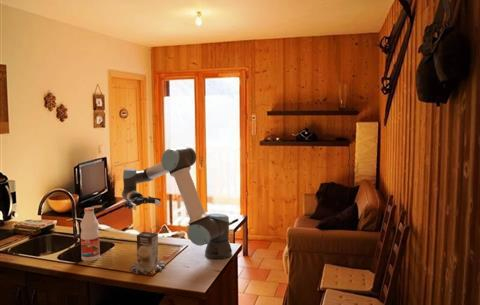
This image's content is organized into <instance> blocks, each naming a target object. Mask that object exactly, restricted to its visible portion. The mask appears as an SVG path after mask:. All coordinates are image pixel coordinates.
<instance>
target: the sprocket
mask: <svg viewBox="0 0 480 305" xmlns="http://www.w3.org/2000/svg"><path fill="white" fill-rule="evenodd" d="M165 268H166V264H165V262H164V261H161V260H160V259H159V258H158V264H157V265H155V266H154V267H152V268H150V267H145V266H139V265H137V261H134V264H131V265H130V271H131V272H132V273H134V272H135V271H136V272H135V275H138V274H146V275H148V274H150V273H149V272H152V273H155V274H156V272H155V271H157V272H162V271H163V269H165ZM133 271H134V272H133ZM152 273H151V274H152Z"/></svg>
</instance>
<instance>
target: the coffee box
mask: <svg viewBox="0 0 480 305" xmlns="http://www.w3.org/2000/svg"><path fill="white" fill-rule="evenodd" d="M158 259H159V234H158V233H155V232H147V231H142V232H139V233H138V234H136V262H137V265H139V266H145V267H150V268H152V267H154V266H155V265H157V264H158Z"/></svg>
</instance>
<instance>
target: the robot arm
mask: <svg viewBox="0 0 480 305" xmlns="http://www.w3.org/2000/svg"><path fill="white" fill-rule="evenodd" d="M197 158H198V157H197V152H196V151H195V150H194V148H192V147H189V146H181V147H180V146H179V147H172V148H168V149H166V150H164V151H163V153H162V155H161V160H160V162H158V163H156V164H154V165H152V166H150V167H147V168H145V169H142V170H137V169H135V168H126V169H124V170H123V173H122V178H123V183H122V184H123V190H122V192H121V197H122V198H123V199H124V200H125V202H124V208H125V209H126V208H128V210H129V209H133V210H134V211H137V207H138V206H141V205H143V204H144V205H146V204H154V205H156V206H157V207H162V205H161V204H162V203H161V201H162V200H161V198H159V197H152V196H147V197H146V196H145V197H144V195H143V194H142V193H141V192H139V191H137V186H138V184H141V183H146V182H151V181H153V180H155V179H156V178H159V177H161V176H164V175H166V174H169V176H171V177H173V178H174V180H175V183H176V186H177V188H178V191H179V194H180V197H181V198H182V201H183V204H184V207H185V209H186V212H187V215H188V218H189V221H188V226H189V227H188V229H187V230H188V231H187V237H188V239H189V240H190V242H191V243H192V244H194V245H195V246H200V247H201V246H204V245H206V247H205V249H204V256H205V257H206V258H208V259H211V260H223V259H224V260H225V259H227V258H228V259H229V258H230V257H232V255H233V250H232V247H231V243H230V220H229V215H227V214H222V213H209V214H207V213H206V212H205V208H204V206H203V204H202V202H201V198H200V196H199V194H198V191H197V188H196V186H195V183H194V180H193V178H192V176H191V171H190V170H191V169H192V166H194V164H196V162H197Z"/></svg>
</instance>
